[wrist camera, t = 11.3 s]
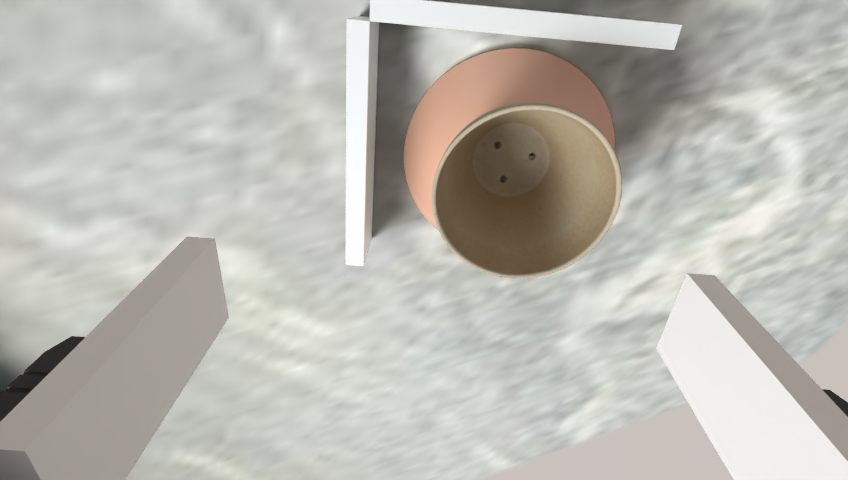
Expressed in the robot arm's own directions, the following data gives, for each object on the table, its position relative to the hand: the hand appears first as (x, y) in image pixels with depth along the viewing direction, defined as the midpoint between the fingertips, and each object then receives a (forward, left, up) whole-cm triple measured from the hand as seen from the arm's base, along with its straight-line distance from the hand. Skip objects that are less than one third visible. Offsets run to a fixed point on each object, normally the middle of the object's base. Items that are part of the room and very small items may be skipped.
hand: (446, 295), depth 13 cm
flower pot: (+2, +4, -19) cm, 20 cm away
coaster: (+2, +4, -20) cm, 20 cm away
